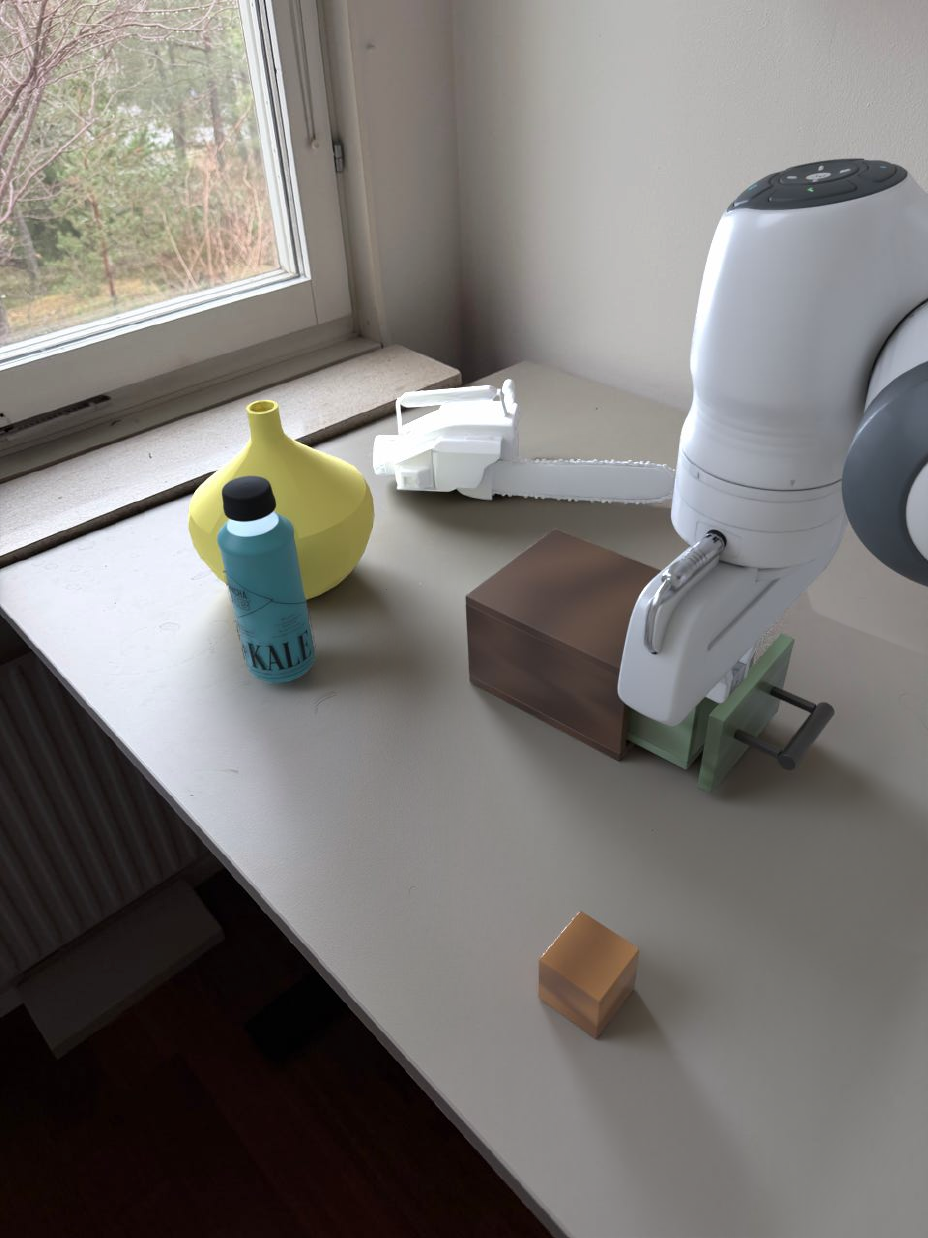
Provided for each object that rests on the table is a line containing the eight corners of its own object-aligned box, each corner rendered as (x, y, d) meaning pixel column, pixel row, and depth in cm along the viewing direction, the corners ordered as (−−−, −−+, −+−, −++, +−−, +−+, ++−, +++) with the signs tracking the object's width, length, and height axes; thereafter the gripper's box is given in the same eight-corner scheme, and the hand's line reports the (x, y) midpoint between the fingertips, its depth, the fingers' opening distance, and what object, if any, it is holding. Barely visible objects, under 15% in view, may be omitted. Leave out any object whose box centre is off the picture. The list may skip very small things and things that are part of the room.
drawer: (835, 736, 76) (856, 663, 71) (770, 826, 69) (789, 752, 64) (628, 643, 86) (634, 573, 81) (555, 713, 79) (556, 642, 74)
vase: (240, 523, 107) (204, 363, 95) (397, 531, 104) (380, 367, 92) (178, 623, 93) (126, 450, 81) (358, 635, 90) (332, 458, 78)
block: (635, 987, 61) (640, 948, 58) (596, 1040, 58) (599, 1002, 55) (577, 948, 63) (579, 909, 60) (537, 998, 60) (538, 959, 58)
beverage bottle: (279, 642, 90) (240, 456, 77) (335, 664, 87) (303, 475, 74) (233, 683, 85) (184, 493, 73) (290, 707, 83) (249, 514, 70)
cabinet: (697, 677, 83) (710, 589, 77) (618, 762, 76) (627, 672, 70) (552, 611, 92) (554, 527, 86) (469, 682, 84) (464, 595, 78)
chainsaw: (677, 520, 103) (690, 416, 96) (369, 506, 108) (357, 407, 101) (674, 453, 115) (684, 356, 107) (395, 444, 120) (386, 350, 112)
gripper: (713, 613, 42) (679, 814, 51) (891, 440, 54) (839, 627, 63) (597, 563, 45) (583, 759, 54) (788, 411, 57) (752, 591, 66)
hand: (722, 687), depth 58 cm, fingers closed
